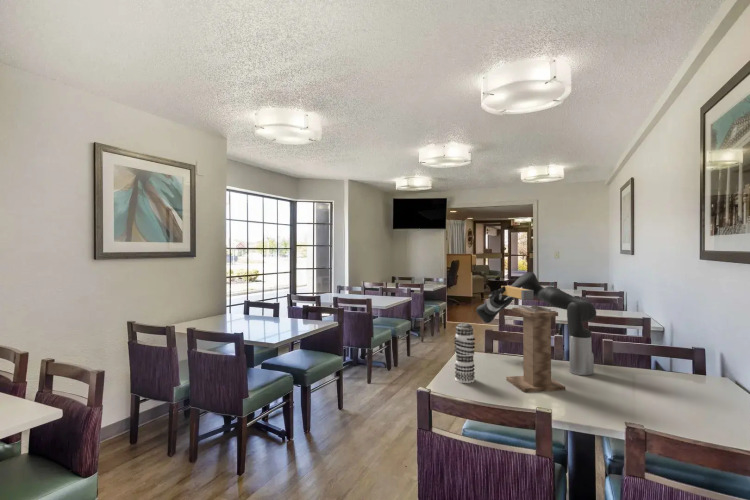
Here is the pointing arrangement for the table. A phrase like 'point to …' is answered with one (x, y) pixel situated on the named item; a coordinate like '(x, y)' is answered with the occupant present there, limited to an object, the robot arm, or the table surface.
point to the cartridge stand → (536, 351)
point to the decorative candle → (464, 353)
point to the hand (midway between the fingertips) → (509, 288)
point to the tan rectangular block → (518, 293)
